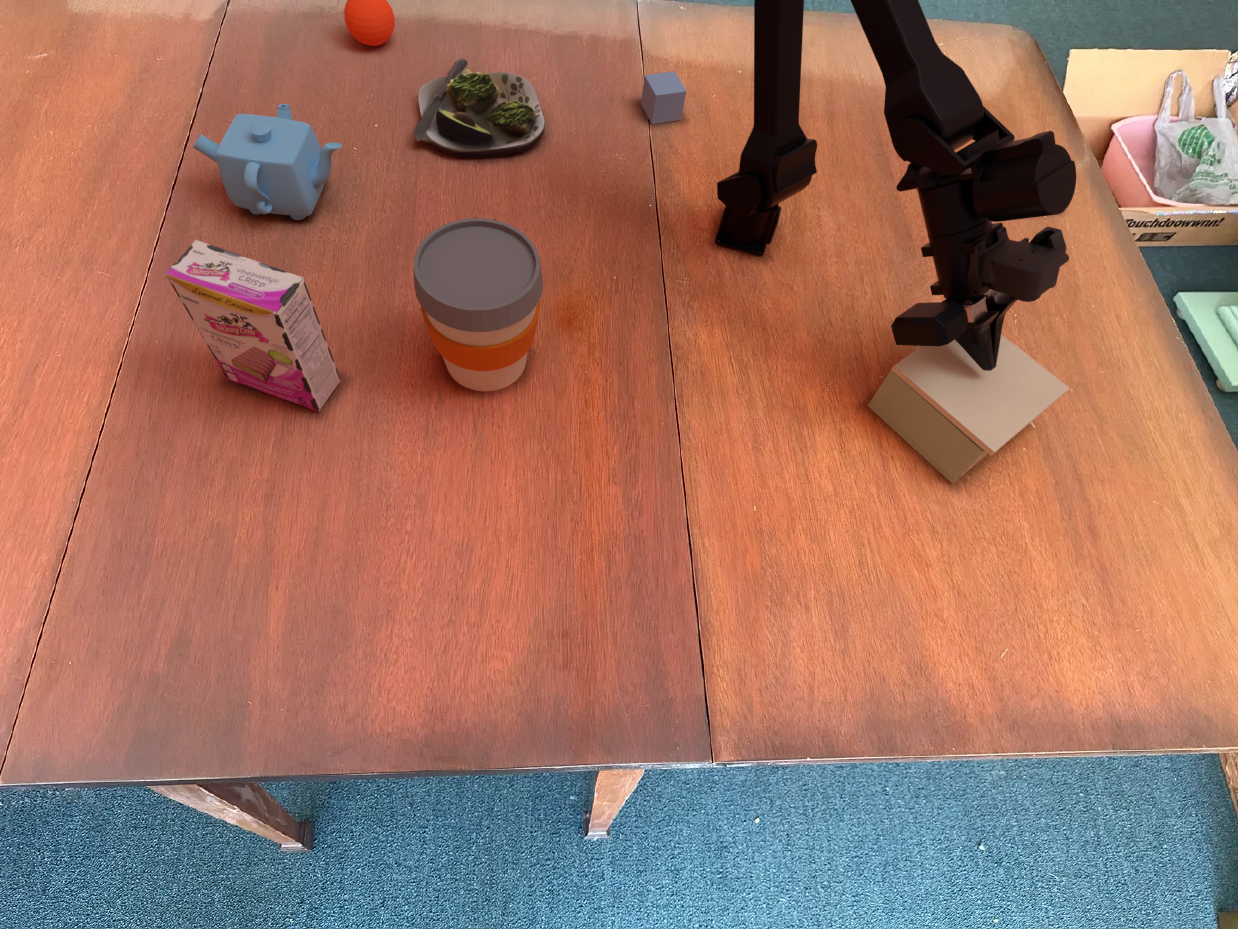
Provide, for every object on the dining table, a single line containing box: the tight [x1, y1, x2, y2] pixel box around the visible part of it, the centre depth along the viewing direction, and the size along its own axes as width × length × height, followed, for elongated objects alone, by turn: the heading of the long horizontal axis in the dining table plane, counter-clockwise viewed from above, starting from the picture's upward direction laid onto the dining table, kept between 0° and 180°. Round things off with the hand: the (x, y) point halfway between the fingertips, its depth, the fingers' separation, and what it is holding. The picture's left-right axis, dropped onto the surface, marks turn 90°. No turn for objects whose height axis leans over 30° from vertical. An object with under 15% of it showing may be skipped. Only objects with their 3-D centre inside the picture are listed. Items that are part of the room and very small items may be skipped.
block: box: [640, 70, 687, 125], centre depth 110 cm, size 5×5×5 cm
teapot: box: [192, 103, 344, 221], centre depth 93 cm, size 18×14×10 cm
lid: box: [890, 333, 1071, 457], centre depth 83 cm, size 13×14×1 cm
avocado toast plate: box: [412, 58, 546, 159], centre depth 106 cm, size 19×18×5 cm
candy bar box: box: [165, 239, 342, 413], centre depth 76 cm, size 11×5×16 cm, turn 71°
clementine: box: [336, 0, 396, 47], centre depth 111 cm, size 8×7×7 cm
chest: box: [867, 369, 989, 485], centre depth 86 cm, size 13×14×7 cm
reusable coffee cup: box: [413, 217, 544, 392], centre depth 81 cm, size 13×13×15 cm
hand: (989, 369), depth 81 cm, fingers closed
